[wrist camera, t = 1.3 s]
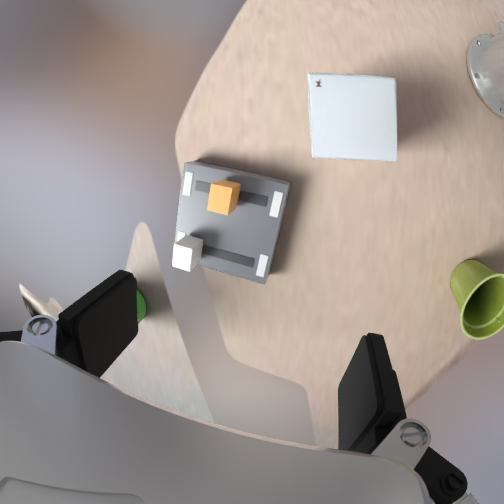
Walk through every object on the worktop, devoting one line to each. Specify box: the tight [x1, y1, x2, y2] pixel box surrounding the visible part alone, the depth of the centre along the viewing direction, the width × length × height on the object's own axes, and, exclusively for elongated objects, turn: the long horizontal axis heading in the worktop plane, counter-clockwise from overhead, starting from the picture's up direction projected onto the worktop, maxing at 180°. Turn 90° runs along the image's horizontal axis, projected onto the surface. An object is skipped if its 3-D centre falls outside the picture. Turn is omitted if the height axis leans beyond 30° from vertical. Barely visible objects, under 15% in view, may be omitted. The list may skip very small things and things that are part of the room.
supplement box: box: [307, 73, 397, 162], centre depth 26 cm, size 7×7×13 cm
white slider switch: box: [172, 235, 203, 272], centre depth 36 cm, size 3×2×4 cm
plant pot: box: [450, 260, 504, 340], centre depth 30 cm, size 9×9×9 cm
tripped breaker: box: [207, 179, 241, 215], centre depth 32 cm, size 3×2×4 cm
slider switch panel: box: [175, 161, 291, 284], centre depth 37 cm, size 13×13×3 cm
